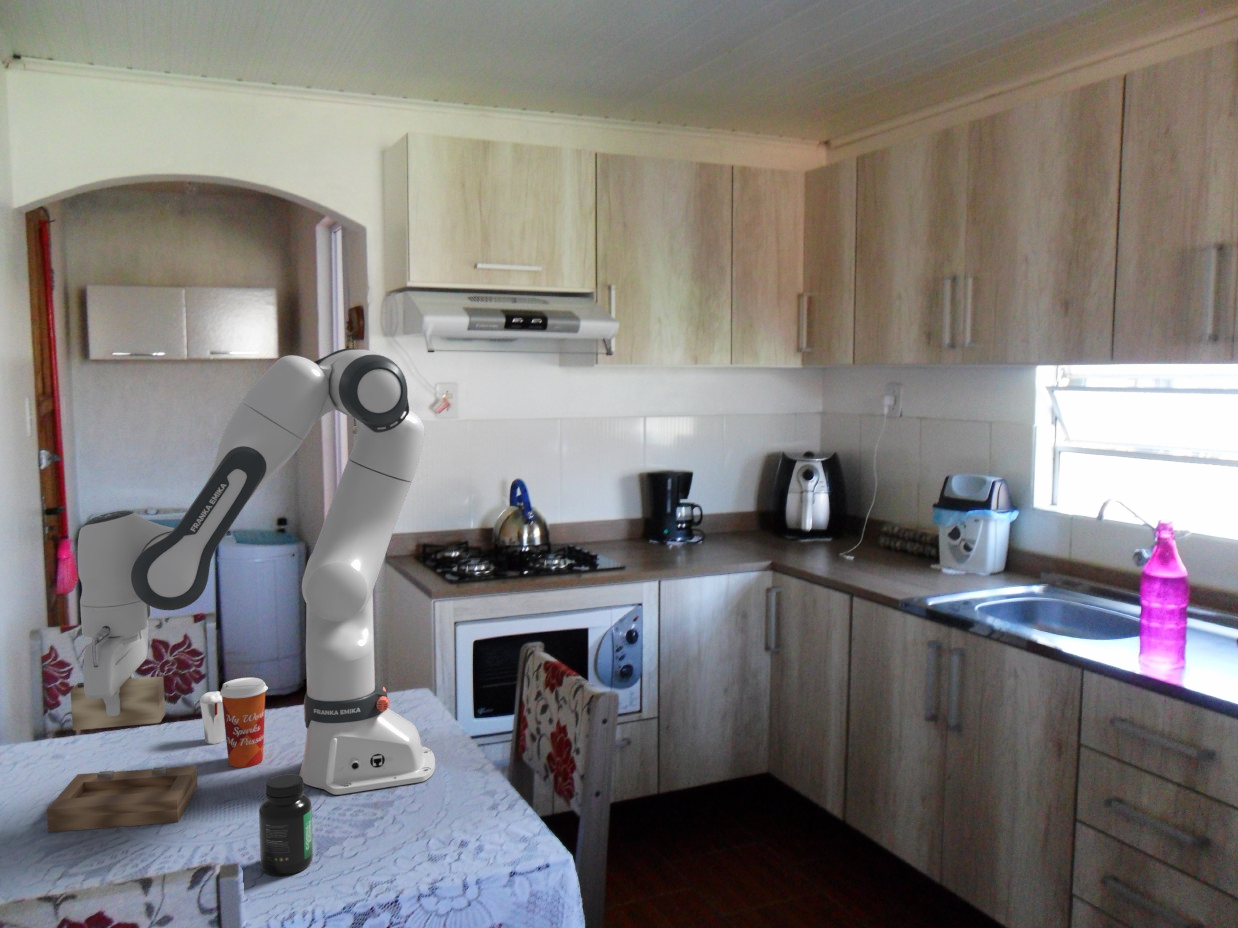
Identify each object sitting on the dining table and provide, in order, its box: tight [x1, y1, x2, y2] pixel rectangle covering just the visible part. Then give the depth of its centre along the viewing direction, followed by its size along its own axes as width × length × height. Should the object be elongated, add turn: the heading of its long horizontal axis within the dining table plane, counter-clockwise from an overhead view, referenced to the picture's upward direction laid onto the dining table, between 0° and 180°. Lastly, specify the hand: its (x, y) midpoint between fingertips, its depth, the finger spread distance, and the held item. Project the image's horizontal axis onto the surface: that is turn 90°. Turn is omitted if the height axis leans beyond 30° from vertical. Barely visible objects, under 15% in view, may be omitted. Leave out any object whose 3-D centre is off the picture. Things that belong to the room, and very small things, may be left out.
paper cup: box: [219, 677, 269, 769], centre depth 171 cm, size 8×8×14 cm
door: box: [69, 675, 166, 731], centre depth 150 cm, size 12×4×6 cm, turn 104°
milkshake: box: [199, 691, 226, 745], centre depth 181 cm, size 5×5×10 cm
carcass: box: [46, 765, 199, 833], centre depth 153 cm, size 18×13×4 cm
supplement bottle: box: [258, 773, 314, 877], centre depth 135 cm, size 7×7×12 cm
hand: (119, 708), depth 150 cm, fingers closed on door, 4 cm apart
